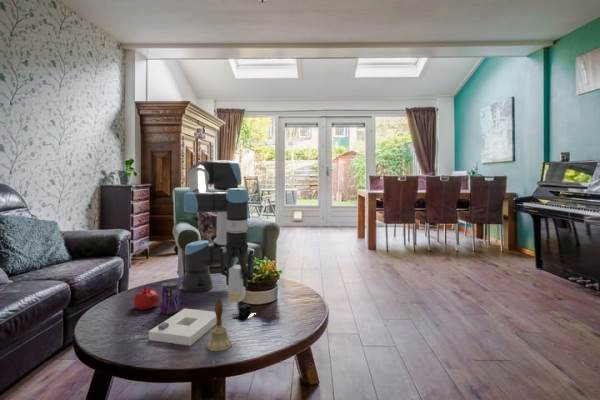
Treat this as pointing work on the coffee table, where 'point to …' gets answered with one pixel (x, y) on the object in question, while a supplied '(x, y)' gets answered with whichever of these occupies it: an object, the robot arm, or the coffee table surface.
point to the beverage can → (169, 297)
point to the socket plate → (184, 327)
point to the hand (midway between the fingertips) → (237, 294)
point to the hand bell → (219, 332)
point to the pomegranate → (146, 299)
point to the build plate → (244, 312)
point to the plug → (235, 283)
